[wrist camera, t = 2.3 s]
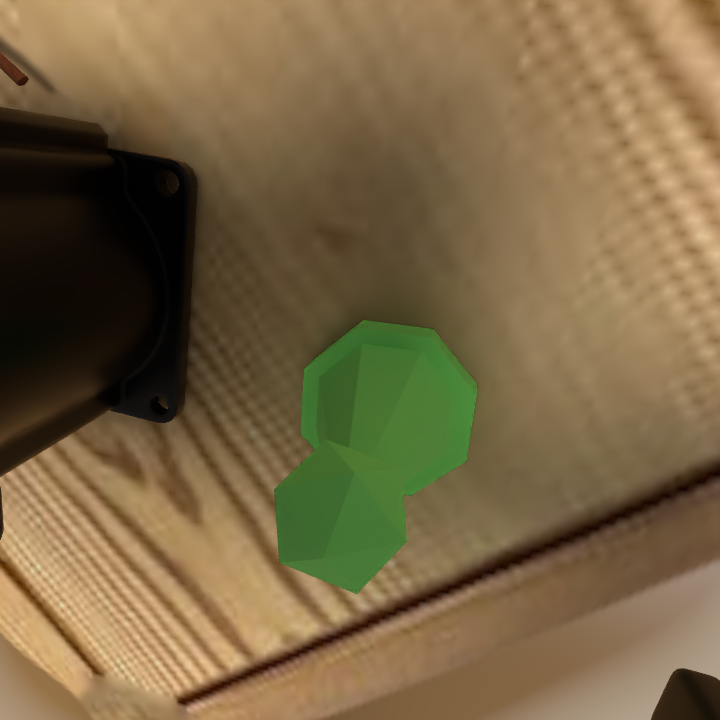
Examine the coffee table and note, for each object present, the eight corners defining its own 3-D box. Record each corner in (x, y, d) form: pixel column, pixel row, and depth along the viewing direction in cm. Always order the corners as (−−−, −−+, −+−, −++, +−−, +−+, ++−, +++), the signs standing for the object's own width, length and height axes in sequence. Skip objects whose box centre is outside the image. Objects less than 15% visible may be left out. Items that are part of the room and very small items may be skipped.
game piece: (423, 510, 14) (388, 726, 8) (278, 427, 14) (148, 585, 9) (515, 374, 12) (546, 527, 7) (351, 283, 13) (251, 360, 7)
